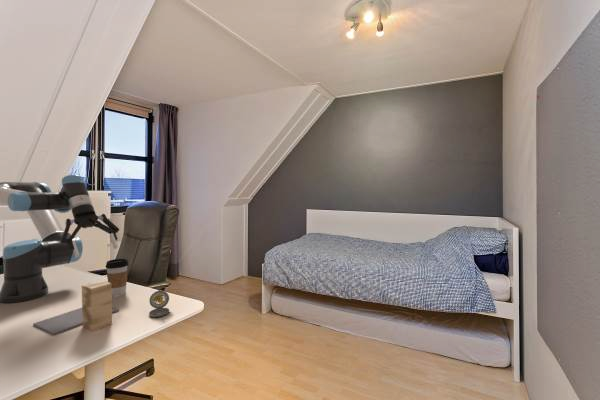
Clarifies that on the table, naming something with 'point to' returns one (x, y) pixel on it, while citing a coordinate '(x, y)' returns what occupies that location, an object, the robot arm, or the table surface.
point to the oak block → (96, 305)
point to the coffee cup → (117, 275)
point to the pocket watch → (159, 307)
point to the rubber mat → (63, 321)
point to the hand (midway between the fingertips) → (97, 252)
